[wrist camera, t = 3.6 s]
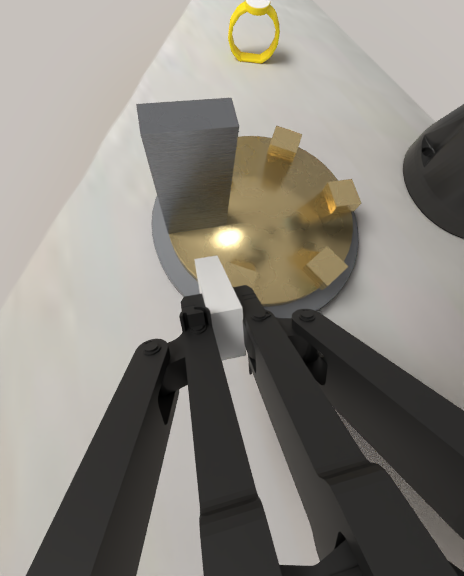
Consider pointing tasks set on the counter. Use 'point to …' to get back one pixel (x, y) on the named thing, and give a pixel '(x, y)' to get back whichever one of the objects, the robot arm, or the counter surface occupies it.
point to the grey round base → (313, 301)
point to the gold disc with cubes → (247, 200)
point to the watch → (256, 5)
